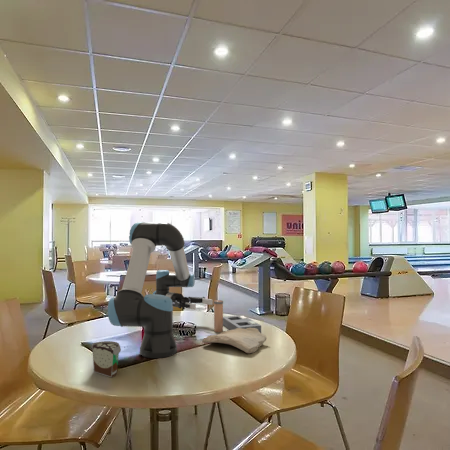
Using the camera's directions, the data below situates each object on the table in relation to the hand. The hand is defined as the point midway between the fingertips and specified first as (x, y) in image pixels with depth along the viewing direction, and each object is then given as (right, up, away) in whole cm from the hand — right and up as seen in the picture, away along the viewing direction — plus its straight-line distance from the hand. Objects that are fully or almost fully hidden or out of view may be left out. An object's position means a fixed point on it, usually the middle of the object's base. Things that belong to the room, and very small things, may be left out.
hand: (203, 304), depth 189 cm
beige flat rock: (+16, -12, -29) cm, 35 cm away
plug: (+8, -12, -6) cm, 16 cm away
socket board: (+19, -12, -2) cm, 23 cm away
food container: (-30, -11, -60) cm, 68 cm away
